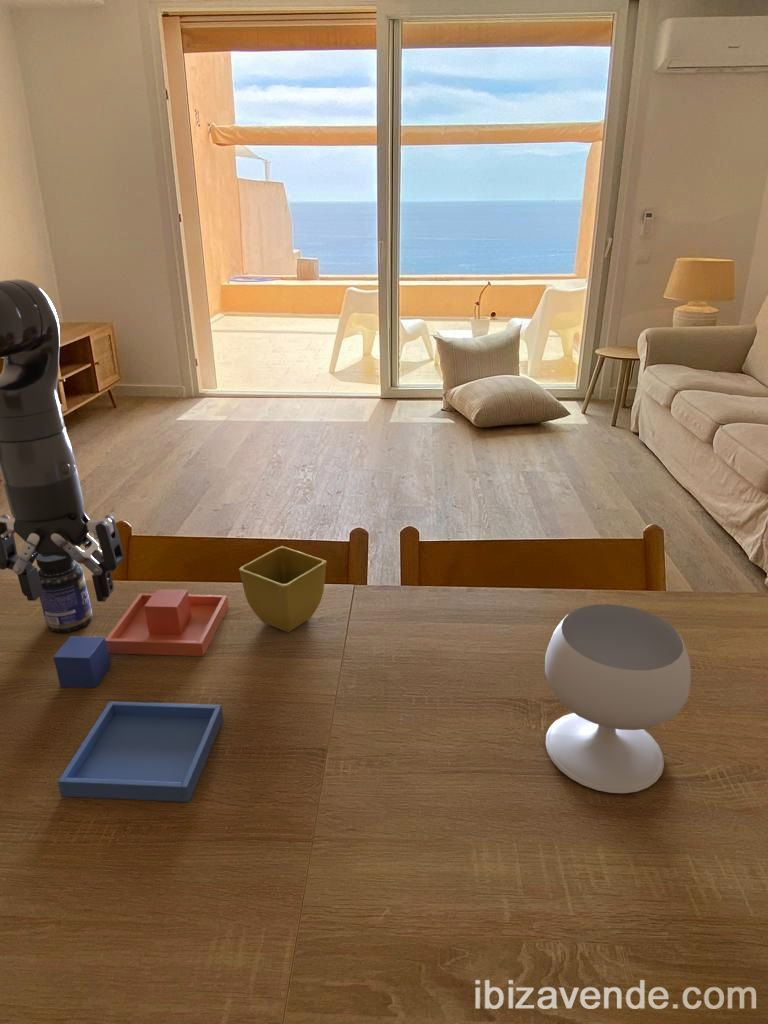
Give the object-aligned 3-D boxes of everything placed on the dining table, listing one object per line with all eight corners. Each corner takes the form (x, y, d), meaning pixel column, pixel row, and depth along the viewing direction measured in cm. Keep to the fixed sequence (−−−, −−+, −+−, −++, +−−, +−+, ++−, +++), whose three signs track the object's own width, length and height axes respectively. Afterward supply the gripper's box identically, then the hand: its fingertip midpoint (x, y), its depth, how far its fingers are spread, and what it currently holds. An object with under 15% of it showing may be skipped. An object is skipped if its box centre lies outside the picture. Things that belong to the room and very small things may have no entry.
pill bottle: (97, 625, 98) (83, 556, 94) (52, 639, 95) (34, 568, 91) (87, 606, 103) (72, 539, 99) (43, 619, 100) (26, 551, 95)
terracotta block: (149, 634, 95) (143, 606, 93) (160, 616, 99) (156, 589, 97) (181, 635, 95) (176, 607, 93) (191, 617, 99) (187, 590, 97)
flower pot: (285, 597, 104) (281, 544, 101) (330, 615, 100) (327, 560, 96) (243, 624, 98) (237, 568, 94) (289, 644, 93) (284, 586, 90)
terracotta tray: (106, 653, 92) (103, 640, 91) (141, 604, 103) (139, 593, 102) (203, 656, 91) (201, 643, 90) (228, 606, 102) (227, 595, 102)
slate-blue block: (60, 687, 86) (52, 657, 84) (77, 664, 90) (70, 635, 88) (95, 688, 85) (88, 658, 84) (111, 666, 90) (104, 636, 88)
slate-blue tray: (61, 796, 70) (57, 781, 69) (112, 714, 81) (109, 701, 80) (189, 802, 69) (186, 787, 68) (223, 718, 80) (221, 705, 79)
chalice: (525, 780, 71) (536, 659, 65) (548, 697, 83) (559, 588, 77) (671, 820, 66) (699, 694, 60) (673, 726, 78) (696, 612, 72)
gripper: (116, 460, 80) (139, 582, 86) (-4, 459, 80) (29, 581, 87) (86, 484, 73) (114, 615, 79) (-44, 484, 74) (-5, 614, 80)
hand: (69, 597), depth 83 cm, fingers open, 8 cm apart
